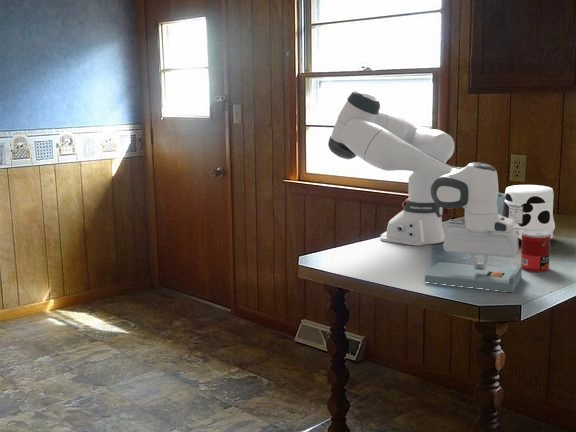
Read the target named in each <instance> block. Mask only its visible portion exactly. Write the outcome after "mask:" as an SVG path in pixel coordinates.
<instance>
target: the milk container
mask: <svg viewBox="0 0 576 432" xmlns="http://www.w3.org/2000/svg"><path fill="white" fill-rule="evenodd" d="M553 189H554V188H553V187H550V186H545V185H538V184H517V185H516V184H515V185H511V186H507V187H506V188H505V192H504V194H505V201H504V210H503V216H504V217H506V218H509V219H512V220H514V222H515V226H514V228H513V229H514V230H515V231H516V233H517V236H518V244H522V232H523V231H525V230H544V231H547V232H550V241H551V240H552V239H553V238H554V236H555V230H556V223H555V220H554V213H553V211H554V197H555V196H554V190H553Z"/></svg>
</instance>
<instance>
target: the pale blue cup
mask: <svg viewBox="0 0 576 432" xmlns="http://www.w3.org/2000/svg"><path fill="white" fill-rule="evenodd" d="M497 209H498V215H501V216H504V210H505V193H502V192H500V191H498V198H497Z"/></svg>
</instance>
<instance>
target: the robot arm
mask: <svg viewBox="0 0 576 432" xmlns="http://www.w3.org/2000/svg"><path fill="white" fill-rule="evenodd" d="M380 108H381V103H380V100H379V99H378V98H377V97H376V96H375V94H372V93H371V92H370V91H366V90H360V89H359V90H357V89H356V90H354V91H352V92H351V93H350V95H348V96H347V100H346V102H345V104H344V105H343V107H342V109H341V111H340V112H339V115H337V120H336V122H335V124H334V126H333V130H332V133H331V135H330V136H329V139H328V142H327V144H328V145H327V146H328V148H329V150H330V151H331V153H333V154H334V155H335V156H336V157H338V158H341V159H345V160H352V159H354V158H356V157H359V158H360V159H361V160H362V161H364V162H366V163H367V164H369V165H371V166H372V167H375V168H377V169H380V170H383V171H385V172H390V171H391V172H392V171H393V172H394V171H409V172H412V173H411V174H409V175H410V176H409V177H408V198H406V199H405V200H404V201H403V202H402V206H401V207H403V208H402V210H401V211H399V212H398V213H397V214H396V215H394V216H393V217H392V218H391V219H390V220H389V221H388V223H387V228H386V231H384V232H383V233H381V234H380V241H383V242H388V243H394V244H395V243H396V244H403V245H408V246H409V245H410V246H417V247H420V246H424V245H433V244H435V245H436V244H440V243H442V242H443V250H444V251H445V252H447V253H457V254H458V253H459V254H468V255H469V256H470V257H469V258H470V260H471V261H472V263H473V265H474V269H477V270H485V269H486V266H487V263H488V261H489V260H490V258H491V257H501V258H512V259H513V258H516V256H517V255H519V249H520V248H519V243H518V236H517V233H516V231H515V230H514V229H513V228H514V226H515V222H514V220H512V219H509V218H506V217H504V215H503V216H501V215H498V209H497V198H498V192H499V178H498V172H497V170H496V168H495V167H494V166H493V165H491V164H488V163H485V162H470V163H468V164H466V166H464V167H461V166H460V167H459V166H453V165H451V164H448V163H447V162H448V160H450V159H451V157H453V154H454V152H455V140H454V139H453V137H452V136H451V135H450V134H448V133H446V132H445V131H443V130H440V129H434V128H427V127H423V126H419V125H415V124H413V123H411V122H409V121H407V120H405V119H404V118H401V117H399V116H397V115H394V114H391V113H388V112H386V111H384V110H381V109H380ZM456 208H463V209H464V219H448V220H446V221H445V222H444V224H443V219H442V216H443V209H456ZM478 255H479V256H483V259H484V261H483V262H480V261H478V260H477V256H478Z"/></svg>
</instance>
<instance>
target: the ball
mask: <svg viewBox="0 0 576 432" xmlns="http://www.w3.org/2000/svg"><path fill="white" fill-rule="evenodd" d="M490 277H500V278H502V277H503V275H502V273H501V272H499V271H495V272H493V273H492V274H491V276H490Z"/></svg>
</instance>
